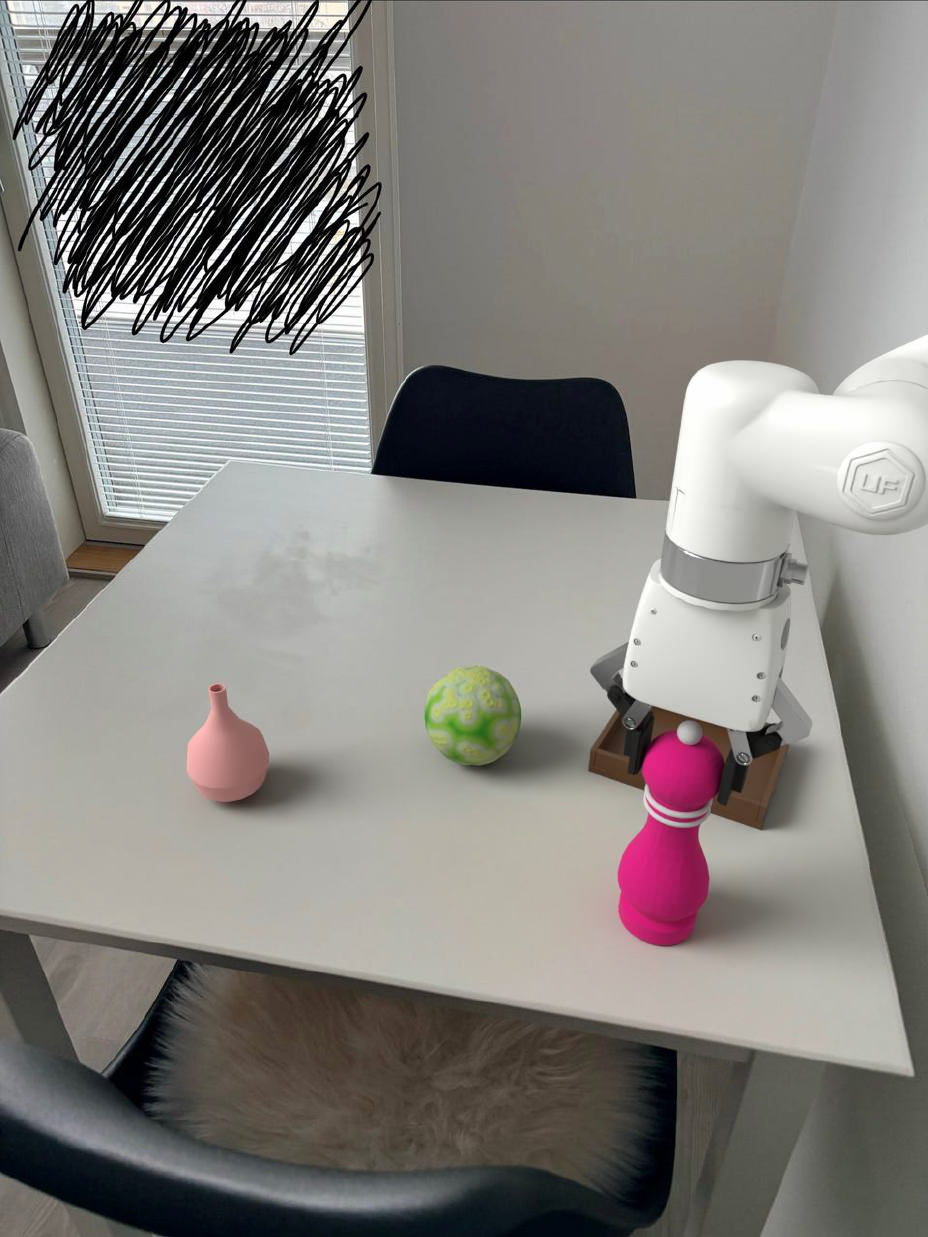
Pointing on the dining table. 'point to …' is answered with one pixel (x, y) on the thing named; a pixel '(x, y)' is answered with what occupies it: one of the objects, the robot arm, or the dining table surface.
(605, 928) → the dining table surface
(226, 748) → the pink bulb vase
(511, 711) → the decorative ball
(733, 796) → the tray
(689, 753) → the pepper mill
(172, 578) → the dining table surface
